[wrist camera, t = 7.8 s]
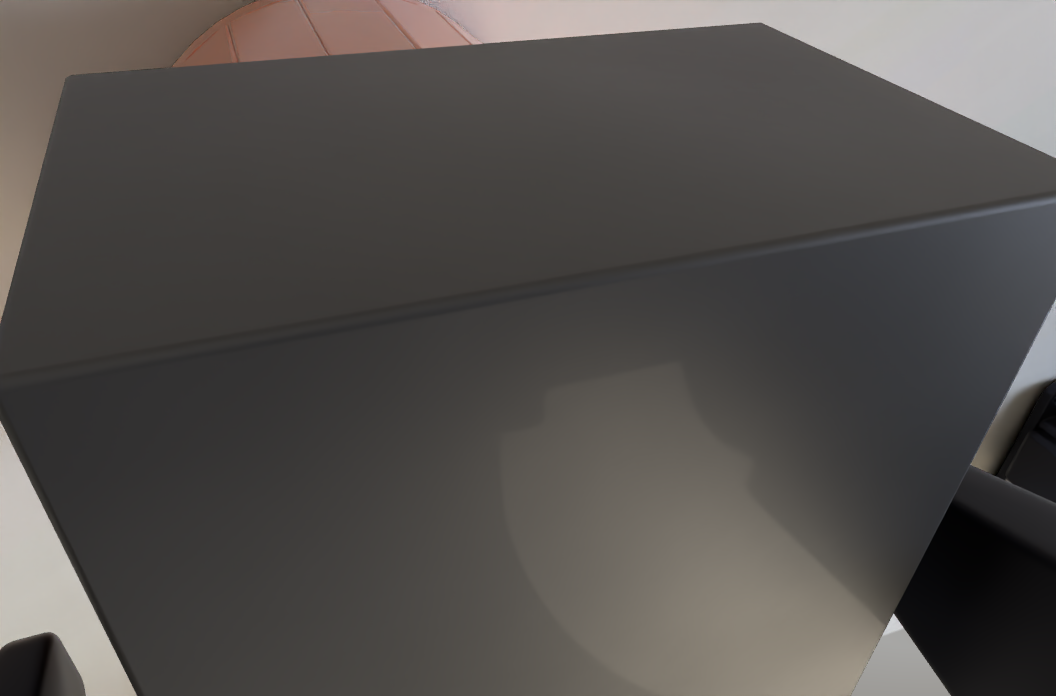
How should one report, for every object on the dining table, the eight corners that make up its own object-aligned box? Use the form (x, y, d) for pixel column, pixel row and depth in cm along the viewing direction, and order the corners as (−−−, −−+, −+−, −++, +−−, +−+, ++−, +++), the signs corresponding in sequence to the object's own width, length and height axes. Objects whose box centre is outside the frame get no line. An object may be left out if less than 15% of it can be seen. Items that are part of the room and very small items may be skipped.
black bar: (762, 20, 8) (1119, 182, 5) (644, 610, 14) (776, 843, 11) (62, 72, 6) (-25, 385, 3) (273, 730, 12) (312, 1051, 9)
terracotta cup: (533, -27, 15) (786, 126, 9) (522, 311, 19) (684, 560, 14) (81, -5, 13) (16, 222, 7) (190, 373, 17) (210, 706, 11)
